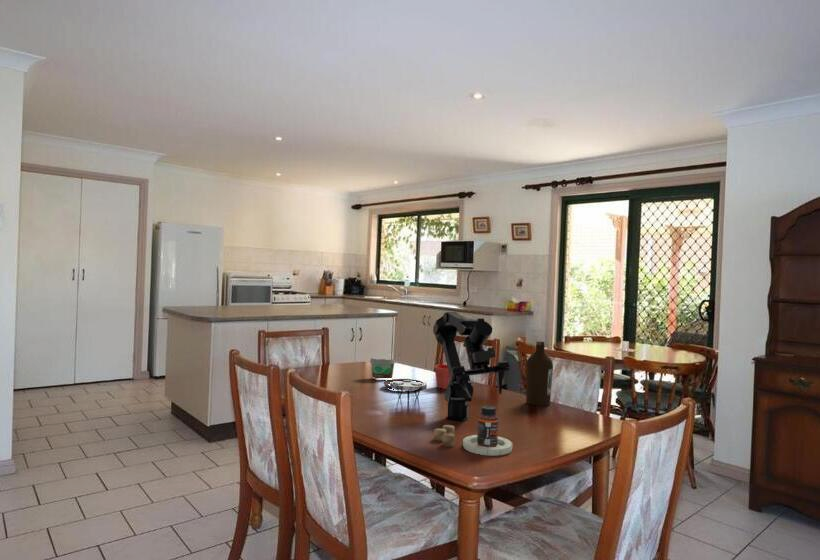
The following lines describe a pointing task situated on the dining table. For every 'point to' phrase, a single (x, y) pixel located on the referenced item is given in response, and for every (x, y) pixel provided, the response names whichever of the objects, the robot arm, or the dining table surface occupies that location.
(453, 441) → the wooden bead
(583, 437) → the dining table surface
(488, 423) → the supplement bottle
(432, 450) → the dining table surface
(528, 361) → the olive oil
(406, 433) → the dining table surface
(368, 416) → the dining table surface
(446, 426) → the wooden bead
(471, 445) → the round tray
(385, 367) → the food container
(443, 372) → the flower pot
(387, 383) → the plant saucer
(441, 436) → the wooden bead
